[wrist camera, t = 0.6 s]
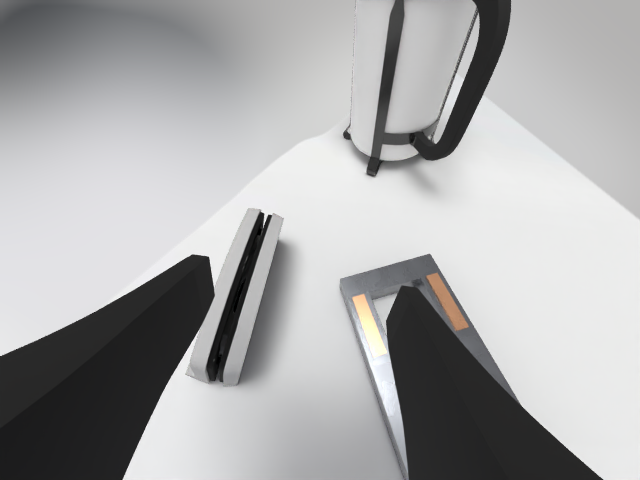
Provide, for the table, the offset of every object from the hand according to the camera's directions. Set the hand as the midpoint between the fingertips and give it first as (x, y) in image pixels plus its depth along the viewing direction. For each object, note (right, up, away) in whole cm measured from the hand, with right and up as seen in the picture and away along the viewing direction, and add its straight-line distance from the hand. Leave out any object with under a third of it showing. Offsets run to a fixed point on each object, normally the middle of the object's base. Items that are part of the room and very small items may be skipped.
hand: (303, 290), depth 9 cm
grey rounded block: (-7, -5, +18) cm, 20 cm away
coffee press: (+12, +16, +30) cm, 36 cm away
